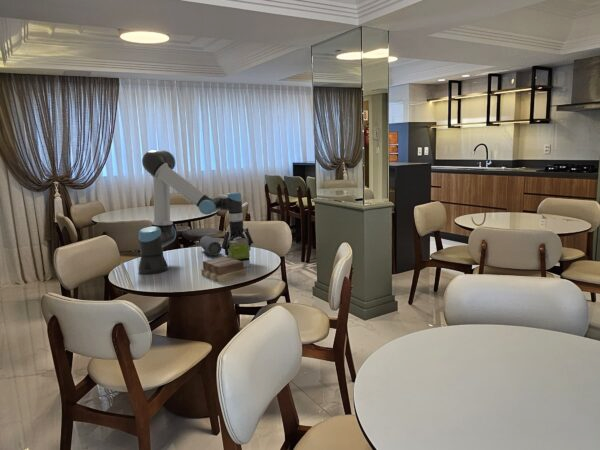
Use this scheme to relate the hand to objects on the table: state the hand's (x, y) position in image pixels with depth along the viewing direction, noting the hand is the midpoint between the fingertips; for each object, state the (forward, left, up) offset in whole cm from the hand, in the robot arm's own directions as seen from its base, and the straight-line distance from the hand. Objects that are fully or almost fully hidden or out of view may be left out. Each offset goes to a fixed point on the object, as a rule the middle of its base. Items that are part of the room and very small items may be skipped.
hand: (238, 258), depth 242 cm
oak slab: (+12, -17, -4) cm, 21 cm away
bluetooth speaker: (-37, +3, -4) cm, 37 cm away
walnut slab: (+12, -17, 0) cm, 21 cm away
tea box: (0, 0, -4) cm, 4 cm away
